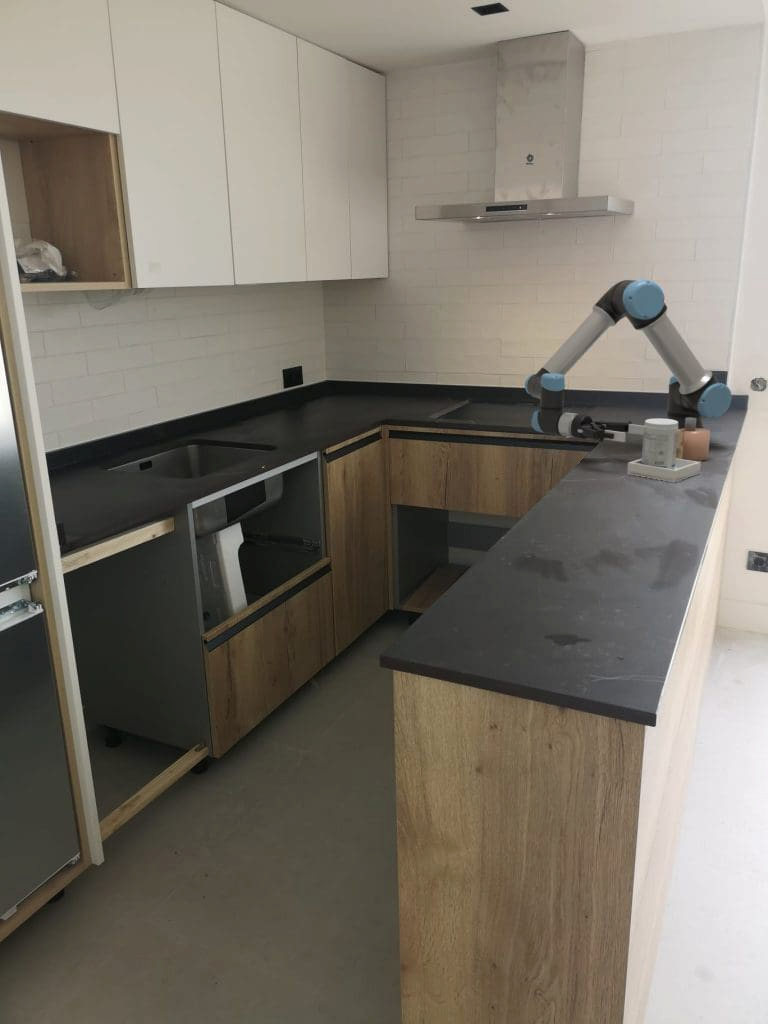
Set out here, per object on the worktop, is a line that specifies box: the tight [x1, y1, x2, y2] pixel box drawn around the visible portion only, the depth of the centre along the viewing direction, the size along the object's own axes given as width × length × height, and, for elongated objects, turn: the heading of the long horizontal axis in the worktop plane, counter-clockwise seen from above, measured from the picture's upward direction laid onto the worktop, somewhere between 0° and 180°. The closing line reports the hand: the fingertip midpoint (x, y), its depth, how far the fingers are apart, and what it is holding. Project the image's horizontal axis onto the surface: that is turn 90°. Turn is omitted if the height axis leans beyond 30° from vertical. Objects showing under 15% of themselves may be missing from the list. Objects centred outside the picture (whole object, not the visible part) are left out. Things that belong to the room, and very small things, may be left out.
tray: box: [626, 458, 702, 484], centre depth 237 cm, size 15×15×4 cm
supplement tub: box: [641, 418, 678, 470], centre depth 236 cm, size 10×10×15 cm
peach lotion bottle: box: [682, 417, 711, 462], centre depth 256 cm, size 9×9×13 cm
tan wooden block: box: [676, 429, 685, 459], centre depth 249 cm, size 12×2×11 cm, turn 133°
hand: (636, 434), depth 241 cm, fingers open, 13 cm apart
